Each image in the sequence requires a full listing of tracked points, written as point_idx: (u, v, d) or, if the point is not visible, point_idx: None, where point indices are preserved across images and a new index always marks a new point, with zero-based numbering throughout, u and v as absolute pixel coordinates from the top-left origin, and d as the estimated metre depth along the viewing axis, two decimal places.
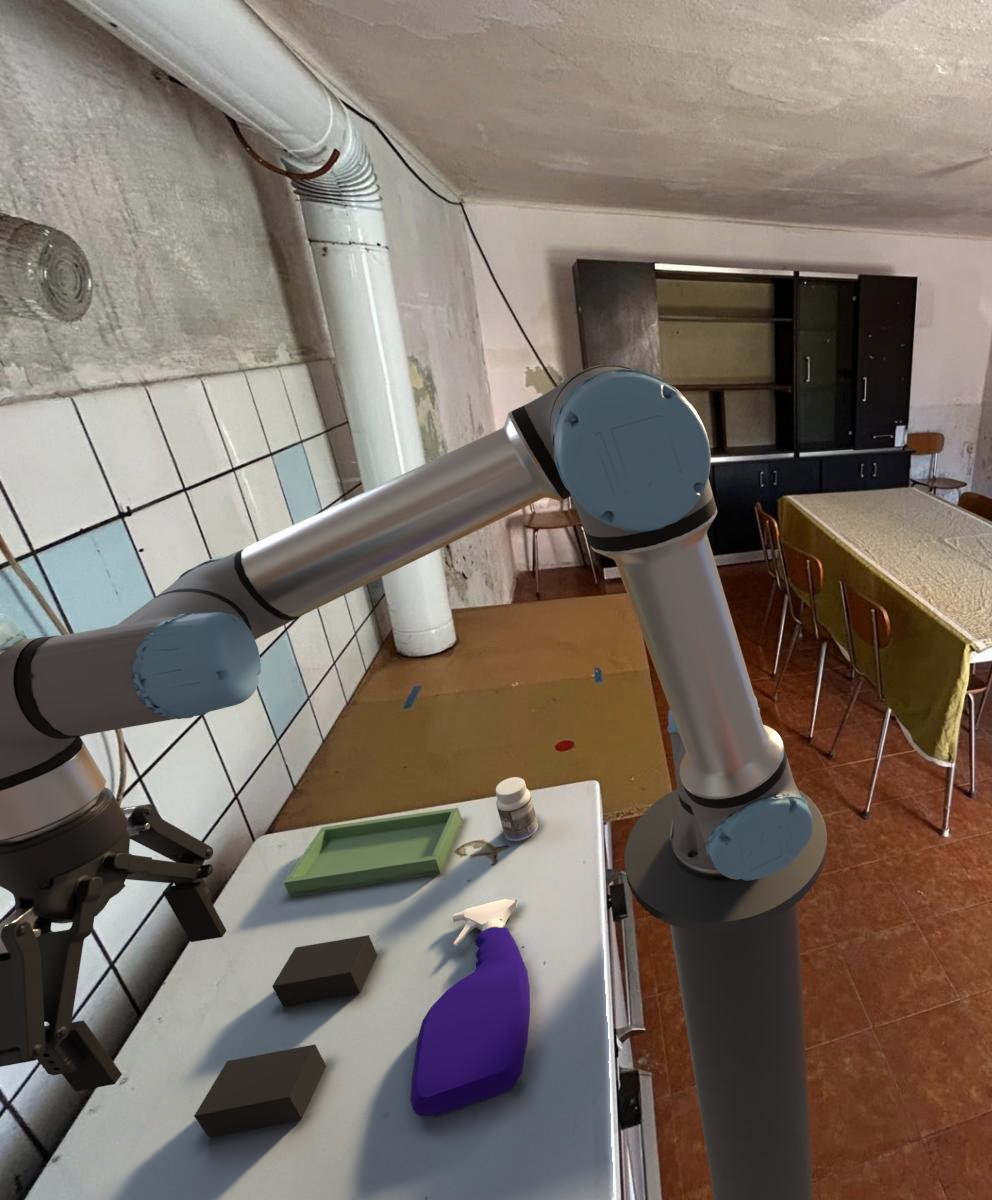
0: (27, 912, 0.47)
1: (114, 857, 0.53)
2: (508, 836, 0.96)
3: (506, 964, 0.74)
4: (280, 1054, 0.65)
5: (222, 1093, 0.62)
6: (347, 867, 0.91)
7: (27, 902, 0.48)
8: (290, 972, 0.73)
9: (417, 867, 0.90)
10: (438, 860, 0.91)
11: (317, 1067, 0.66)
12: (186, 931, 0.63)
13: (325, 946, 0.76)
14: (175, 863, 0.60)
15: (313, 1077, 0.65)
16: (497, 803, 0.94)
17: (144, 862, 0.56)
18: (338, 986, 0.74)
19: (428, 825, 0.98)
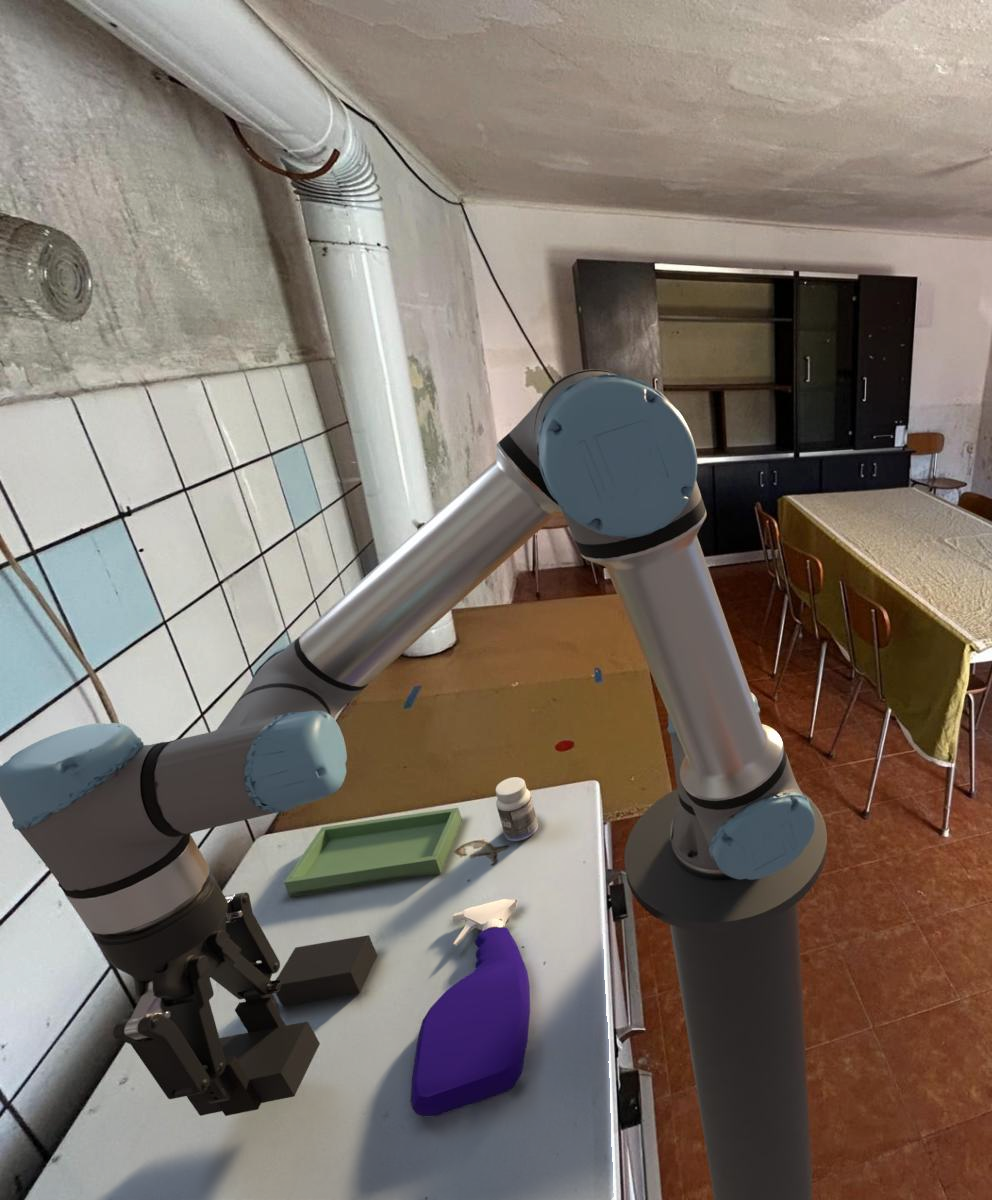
0: (151, 1002, 0.52)
1: (217, 932, 0.58)
2: (508, 836, 0.96)
3: (506, 964, 0.74)
4: (272, 1031, 0.64)
5: None
6: (347, 867, 0.91)
7: (145, 984, 0.53)
8: (290, 972, 0.73)
9: (417, 867, 0.90)
10: (438, 860, 0.91)
11: (310, 1044, 0.65)
12: None
13: (325, 946, 0.76)
14: (254, 967, 0.62)
15: (306, 1054, 0.64)
16: (497, 803, 0.94)
17: (235, 950, 0.60)
18: (338, 986, 0.74)
19: (428, 825, 0.98)
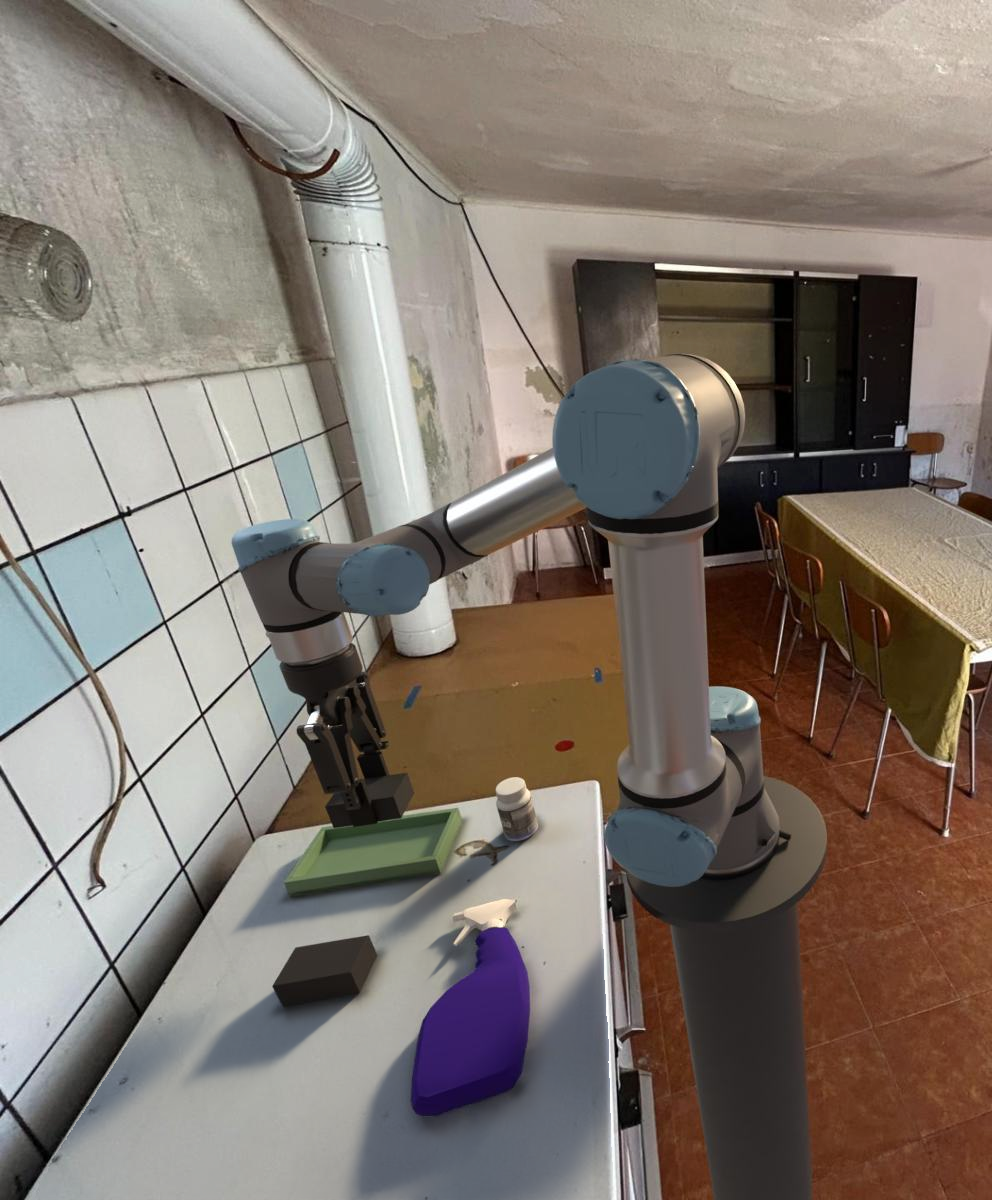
0: (318, 716, 0.75)
1: (353, 687, 0.81)
2: (508, 836, 0.95)
3: (506, 964, 0.74)
4: (382, 777, 0.87)
5: None
6: (347, 867, 0.91)
7: (313, 706, 0.76)
8: (290, 972, 0.73)
9: (417, 867, 0.90)
10: (438, 860, 0.91)
11: (409, 790, 0.88)
12: None
13: (325, 946, 0.76)
14: (372, 726, 0.85)
15: (406, 794, 0.87)
16: (497, 803, 0.94)
17: (363, 706, 0.83)
18: (338, 986, 0.74)
19: (428, 825, 0.98)
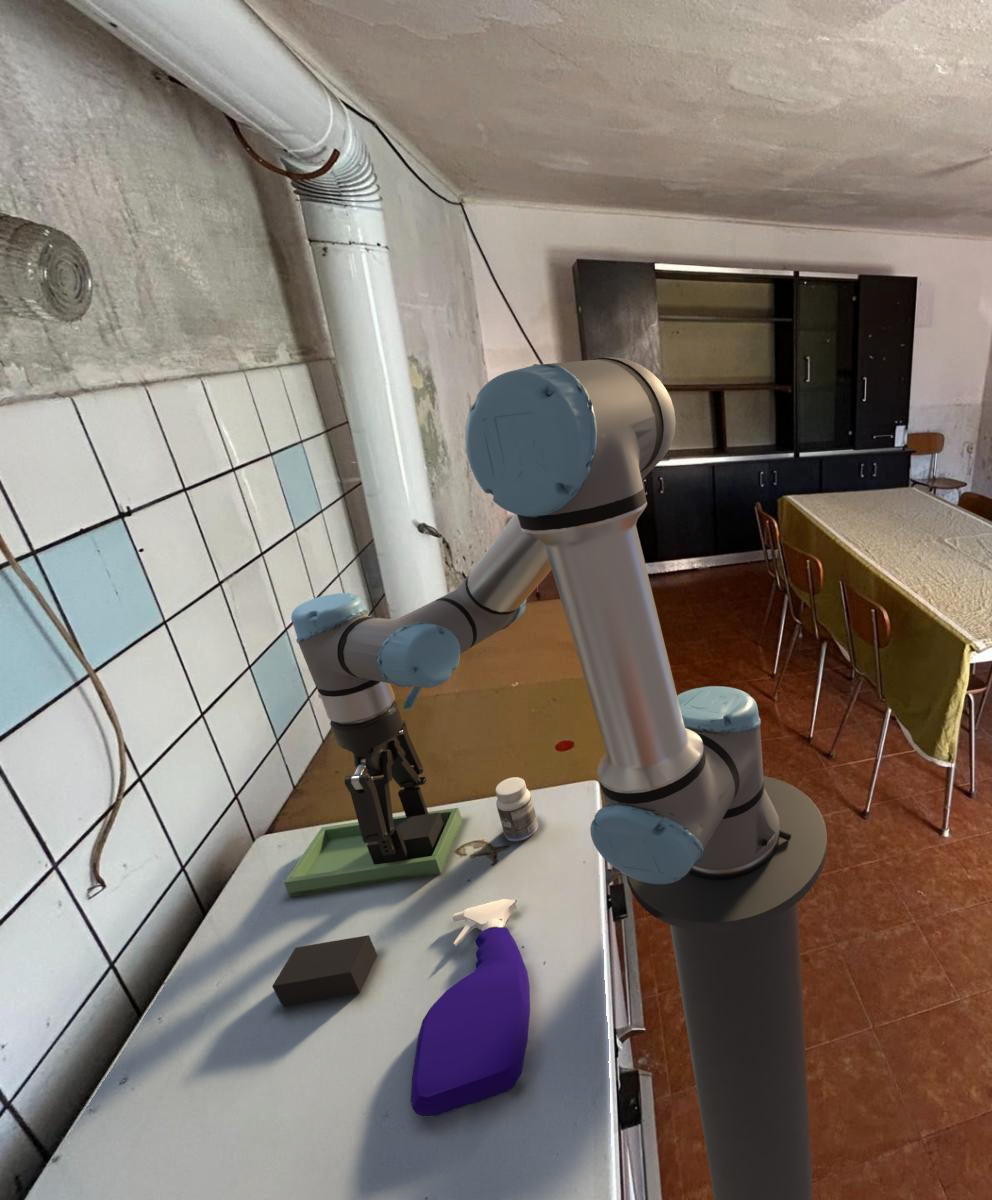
0: (364, 768, 0.83)
1: (394, 740, 0.89)
2: (508, 836, 0.95)
3: (506, 964, 0.74)
4: (417, 817, 0.95)
5: None
6: (347, 867, 0.91)
7: (360, 760, 0.84)
8: (290, 972, 0.73)
9: (417, 867, 0.90)
10: (438, 860, 0.91)
11: (441, 828, 0.96)
12: None
13: (325, 946, 0.76)
14: (410, 767, 0.94)
15: (439, 833, 0.95)
16: (497, 803, 0.94)
17: (402, 753, 0.91)
18: (338, 986, 0.74)
19: None
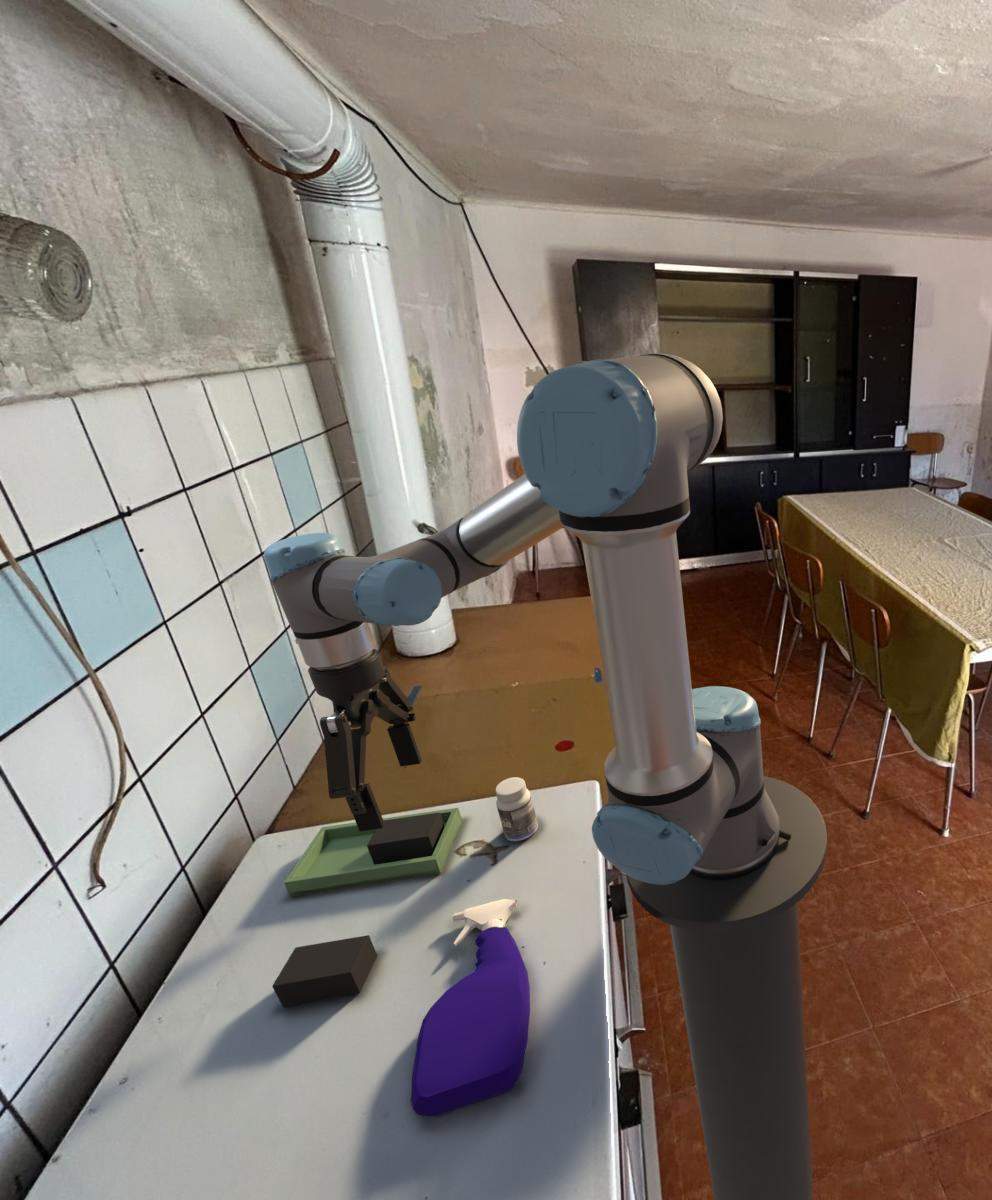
0: (343, 712, 0.80)
1: (376, 691, 0.85)
2: (508, 836, 0.95)
3: (506, 964, 0.74)
4: (417, 817, 0.95)
5: (382, 835, 0.92)
6: (347, 867, 0.91)
7: (339, 708, 0.80)
8: (290, 972, 0.73)
9: (417, 867, 0.90)
10: (438, 860, 0.91)
11: (441, 828, 0.96)
12: (398, 758, 0.95)
13: (325, 946, 0.76)
14: (398, 707, 0.92)
15: (439, 833, 0.95)
16: (497, 803, 0.94)
17: (387, 700, 0.88)
18: (338, 986, 0.74)
19: None
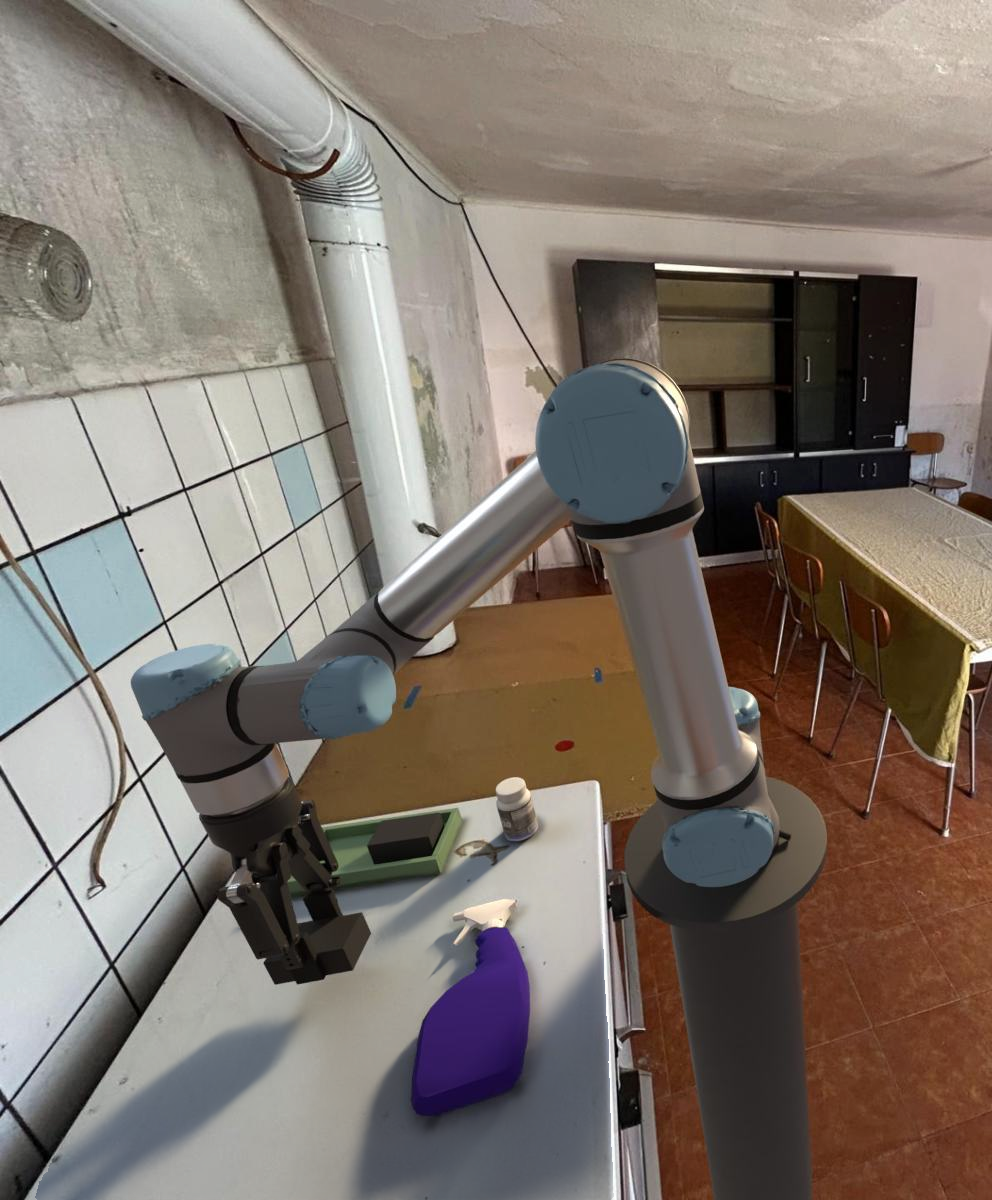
0: (245, 873, 0.64)
1: (293, 827, 0.69)
2: (508, 836, 0.95)
3: (506, 964, 0.74)
4: (417, 817, 0.95)
5: (382, 835, 0.92)
6: (347, 867, 0.91)
7: (240, 860, 0.64)
8: None
9: (417, 867, 0.90)
10: (438, 860, 0.91)
11: (441, 828, 0.96)
12: None
13: (318, 923, 0.75)
14: (319, 863, 0.74)
15: (439, 833, 0.95)
16: (497, 803, 0.94)
17: (305, 845, 0.71)
18: (330, 963, 0.72)
19: None
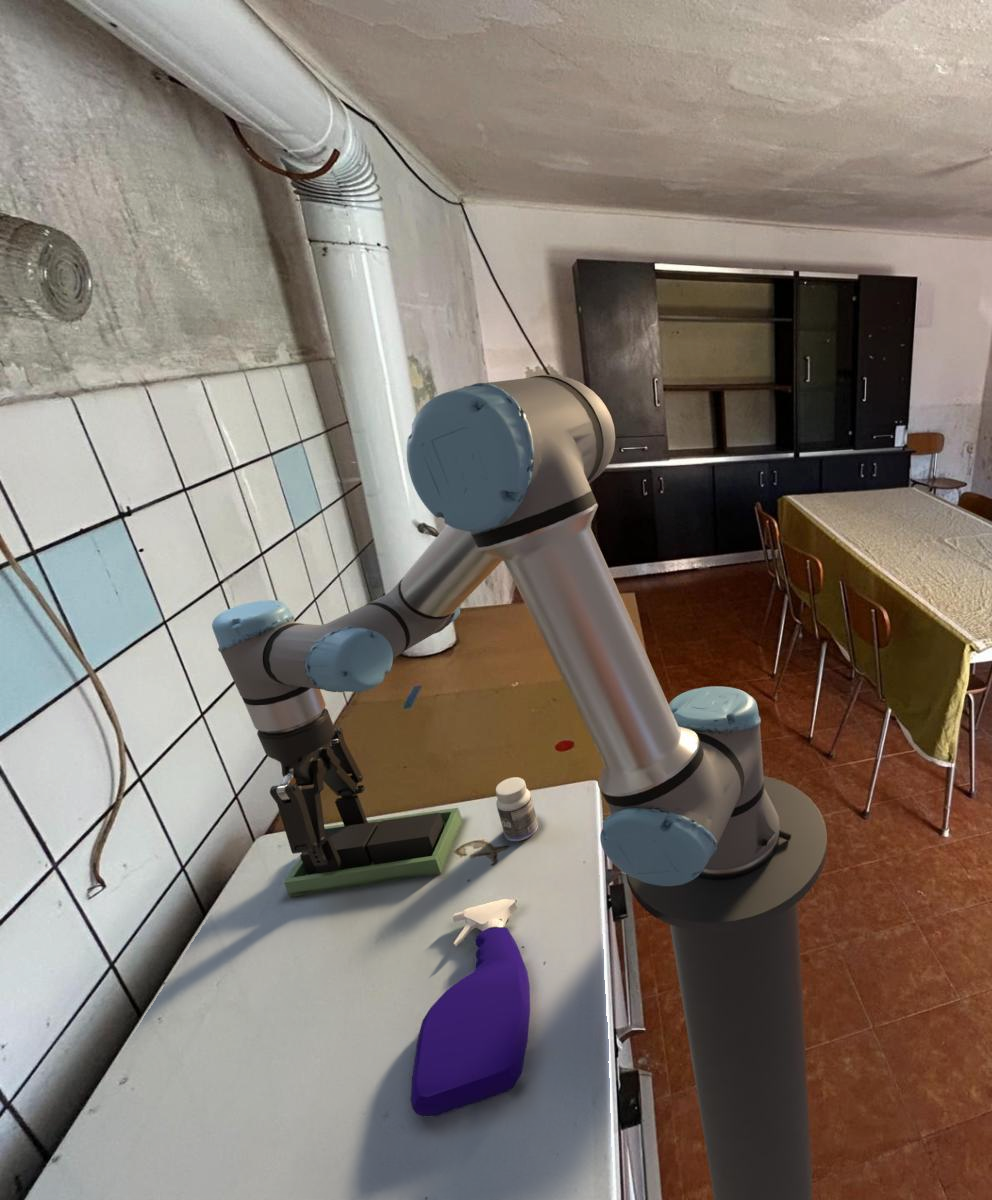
0: (291, 777, 0.82)
1: (327, 748, 0.88)
2: (508, 836, 0.95)
3: (506, 964, 0.74)
4: (417, 817, 0.95)
5: (382, 835, 0.92)
6: None
7: (288, 769, 0.83)
8: None
9: (417, 867, 0.90)
10: (438, 860, 0.91)
11: (441, 828, 0.96)
12: None
13: (342, 829, 0.93)
14: (347, 775, 0.93)
15: (439, 833, 0.95)
16: (497, 803, 0.94)
17: (337, 761, 0.90)
18: (353, 858, 0.91)
19: None
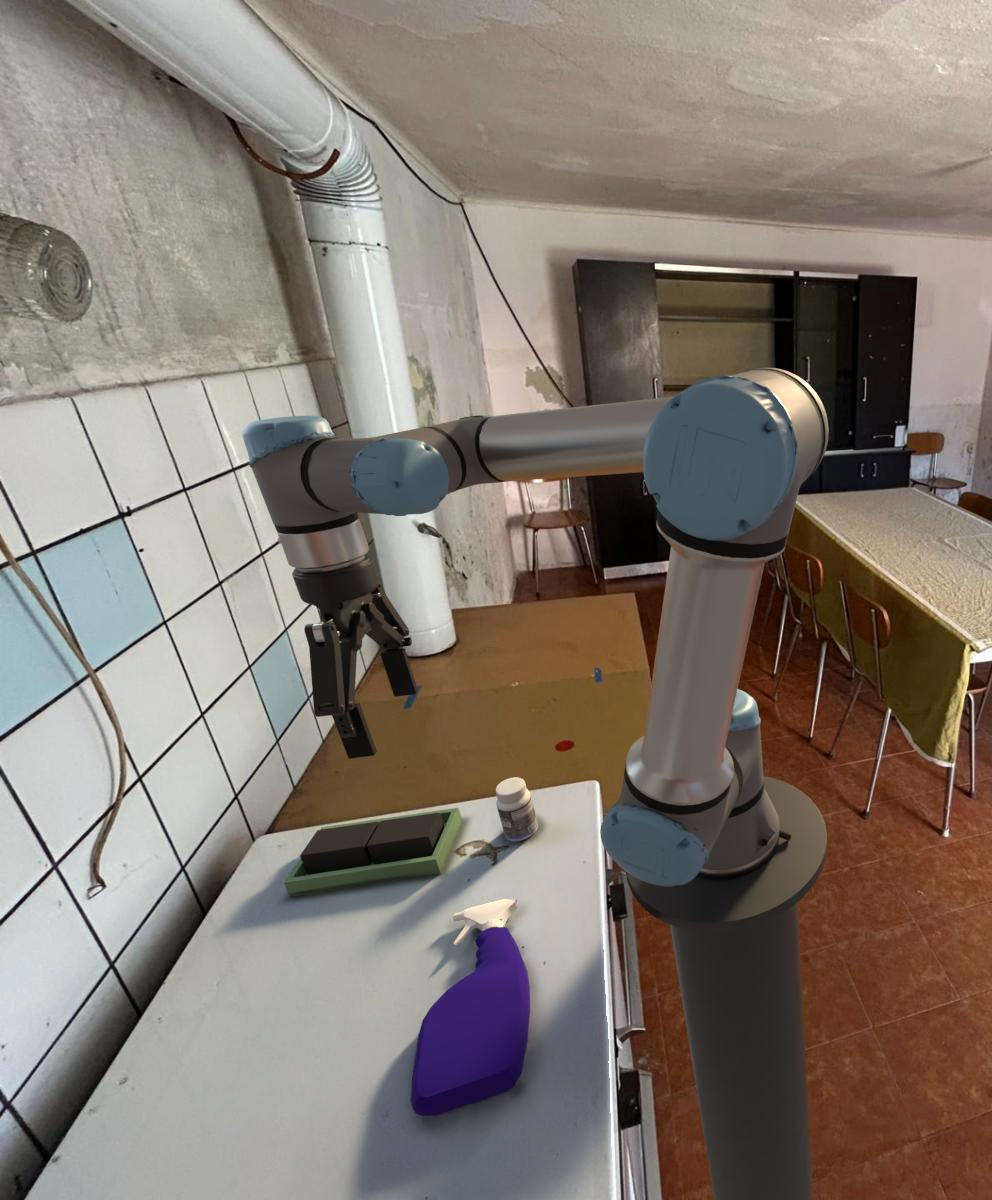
0: (331, 620, 0.71)
1: (368, 604, 0.76)
2: (508, 836, 0.95)
3: (506, 964, 0.74)
4: (417, 817, 0.95)
5: (382, 835, 0.92)
6: None
7: (327, 617, 0.71)
8: (314, 846, 0.90)
9: (417, 867, 0.90)
10: (438, 860, 0.91)
11: (441, 828, 0.96)
12: (391, 687, 0.86)
13: (342, 829, 0.93)
14: (392, 628, 0.83)
15: (439, 833, 0.95)
16: (497, 803, 0.94)
17: (381, 616, 0.79)
18: (353, 858, 0.91)
19: None
